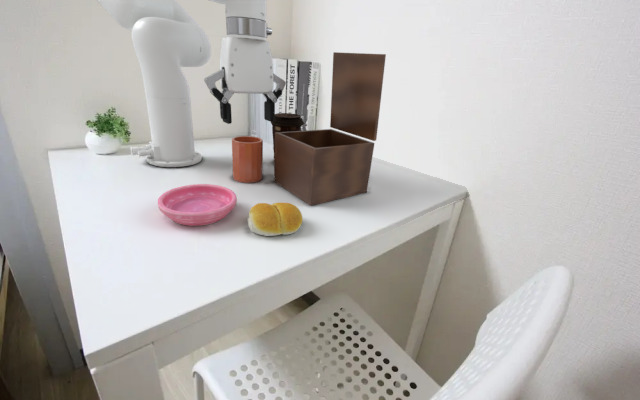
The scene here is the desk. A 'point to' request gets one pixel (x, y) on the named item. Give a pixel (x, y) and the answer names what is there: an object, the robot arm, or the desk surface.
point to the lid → (357, 93)
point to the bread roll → (274, 219)
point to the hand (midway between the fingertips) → (248, 121)
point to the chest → (322, 164)
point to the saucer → (197, 204)
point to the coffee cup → (285, 124)
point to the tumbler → (247, 159)
